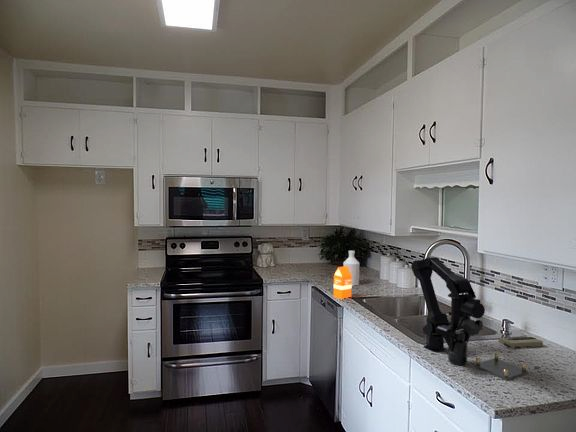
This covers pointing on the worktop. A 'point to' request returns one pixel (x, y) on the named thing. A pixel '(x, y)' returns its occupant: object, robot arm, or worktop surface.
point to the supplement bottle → (458, 350)
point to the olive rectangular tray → (521, 342)
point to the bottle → (353, 267)
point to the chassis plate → (501, 368)
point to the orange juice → (342, 283)
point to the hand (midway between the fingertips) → (457, 349)
